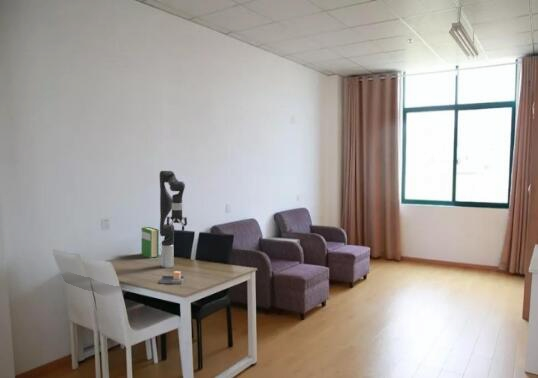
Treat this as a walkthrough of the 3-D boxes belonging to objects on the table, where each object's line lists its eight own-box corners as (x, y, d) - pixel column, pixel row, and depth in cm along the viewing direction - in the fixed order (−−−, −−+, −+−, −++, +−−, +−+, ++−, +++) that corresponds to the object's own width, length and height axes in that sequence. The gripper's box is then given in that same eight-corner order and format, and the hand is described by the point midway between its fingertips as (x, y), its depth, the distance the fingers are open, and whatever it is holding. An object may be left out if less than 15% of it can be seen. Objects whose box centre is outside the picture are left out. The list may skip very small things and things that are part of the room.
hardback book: (158, 257, 340) (158, 229, 338) (150, 258, 335) (150, 230, 334) (149, 253, 353) (149, 226, 352) (141, 254, 348) (141, 227, 347)
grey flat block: (162, 279, 273) (162, 275, 273) (184, 280, 273) (184, 276, 273) (159, 283, 265) (159, 279, 265) (181, 283, 265) (181, 279, 265)
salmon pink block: (174, 281, 271) (174, 271, 271) (180, 281, 271) (180, 271, 271) (173, 282, 267) (173, 272, 267) (179, 283, 267) (179, 272, 267)
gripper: (187, 208, 288) (187, 230, 289) (168, 208, 288) (168, 229, 289) (185, 210, 281) (185, 232, 282) (165, 209, 281) (165, 231, 282)
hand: (176, 231), depth 286 cm, fingers open, 8 cm apart
